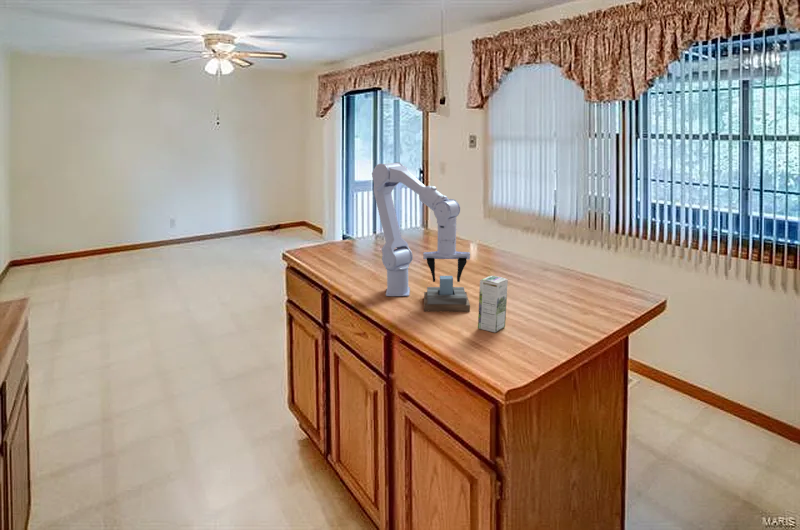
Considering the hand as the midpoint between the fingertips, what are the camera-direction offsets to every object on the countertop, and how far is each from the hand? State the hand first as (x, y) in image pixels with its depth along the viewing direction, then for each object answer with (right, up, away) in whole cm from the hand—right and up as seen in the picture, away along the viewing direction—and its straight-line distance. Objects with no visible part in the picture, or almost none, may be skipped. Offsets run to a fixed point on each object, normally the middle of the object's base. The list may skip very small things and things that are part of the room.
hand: (446, 281), depth 171 cm
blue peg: (0, -6, +1) cm, 6 cm away
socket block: (0, -8, +2) cm, 8 cm away
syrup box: (+11, -13, -19) cm, 26 cm away
